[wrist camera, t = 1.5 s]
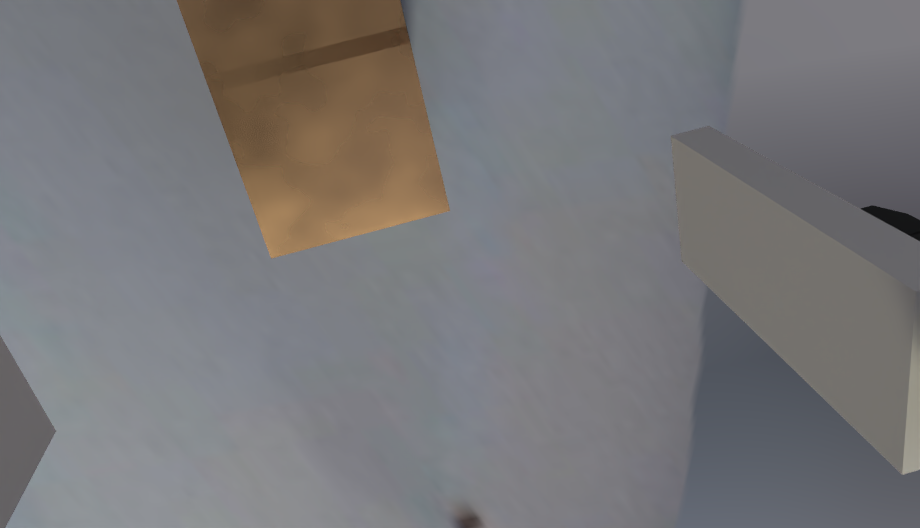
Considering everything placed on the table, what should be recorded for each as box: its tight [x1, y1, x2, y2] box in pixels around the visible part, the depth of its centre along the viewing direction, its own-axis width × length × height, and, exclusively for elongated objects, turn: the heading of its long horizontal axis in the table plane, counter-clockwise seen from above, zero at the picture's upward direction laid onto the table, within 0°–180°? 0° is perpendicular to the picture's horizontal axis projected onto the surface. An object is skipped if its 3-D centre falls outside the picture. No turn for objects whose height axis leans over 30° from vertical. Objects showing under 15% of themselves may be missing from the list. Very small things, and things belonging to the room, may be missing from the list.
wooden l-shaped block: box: [177, 0, 450, 258], centre depth 27 cm, size 6×12×12 cm, turn 12°
